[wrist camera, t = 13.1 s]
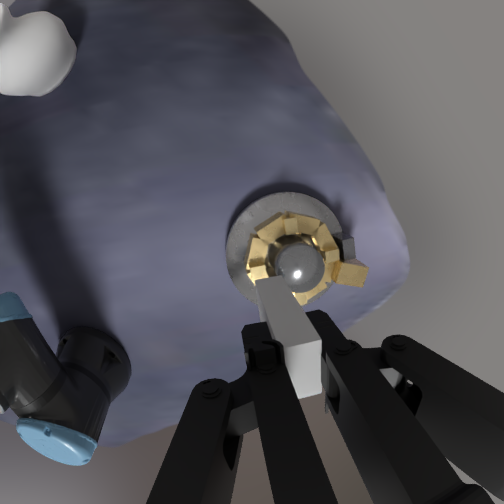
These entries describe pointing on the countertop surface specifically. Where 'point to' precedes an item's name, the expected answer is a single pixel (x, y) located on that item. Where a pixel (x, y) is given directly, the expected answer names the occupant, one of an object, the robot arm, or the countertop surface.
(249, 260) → the gold crown ring
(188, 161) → the countertop surface
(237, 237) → the flange
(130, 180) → the countertop surface
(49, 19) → the vase
